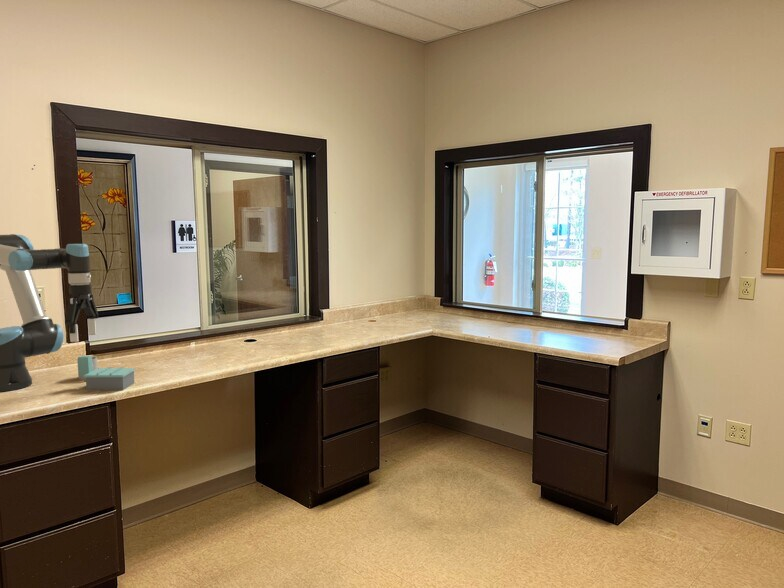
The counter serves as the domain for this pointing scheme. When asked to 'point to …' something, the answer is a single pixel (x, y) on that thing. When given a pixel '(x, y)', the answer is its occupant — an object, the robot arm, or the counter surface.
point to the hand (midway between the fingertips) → (83, 338)
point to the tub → (109, 382)
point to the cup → (94, 364)
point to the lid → (100, 369)
